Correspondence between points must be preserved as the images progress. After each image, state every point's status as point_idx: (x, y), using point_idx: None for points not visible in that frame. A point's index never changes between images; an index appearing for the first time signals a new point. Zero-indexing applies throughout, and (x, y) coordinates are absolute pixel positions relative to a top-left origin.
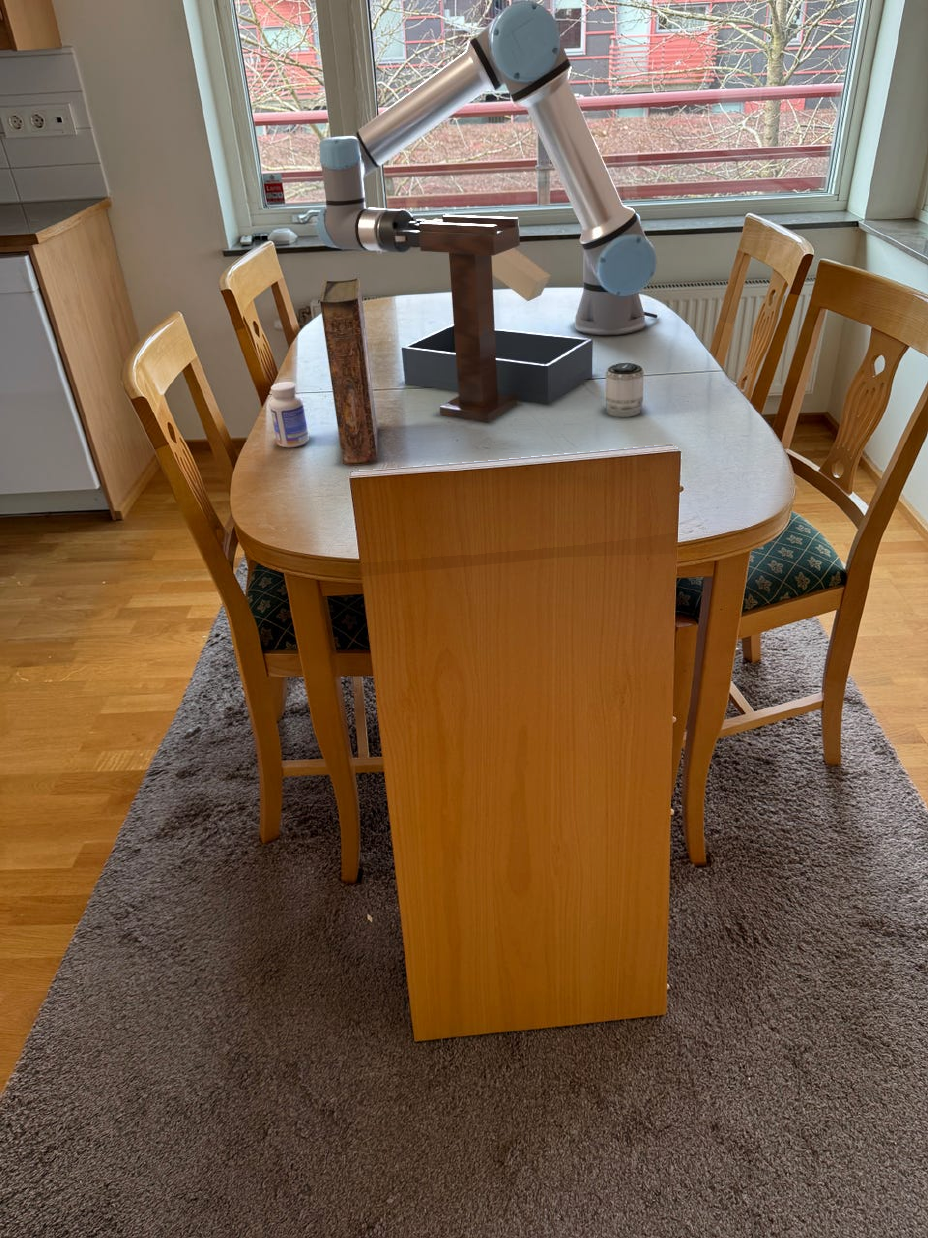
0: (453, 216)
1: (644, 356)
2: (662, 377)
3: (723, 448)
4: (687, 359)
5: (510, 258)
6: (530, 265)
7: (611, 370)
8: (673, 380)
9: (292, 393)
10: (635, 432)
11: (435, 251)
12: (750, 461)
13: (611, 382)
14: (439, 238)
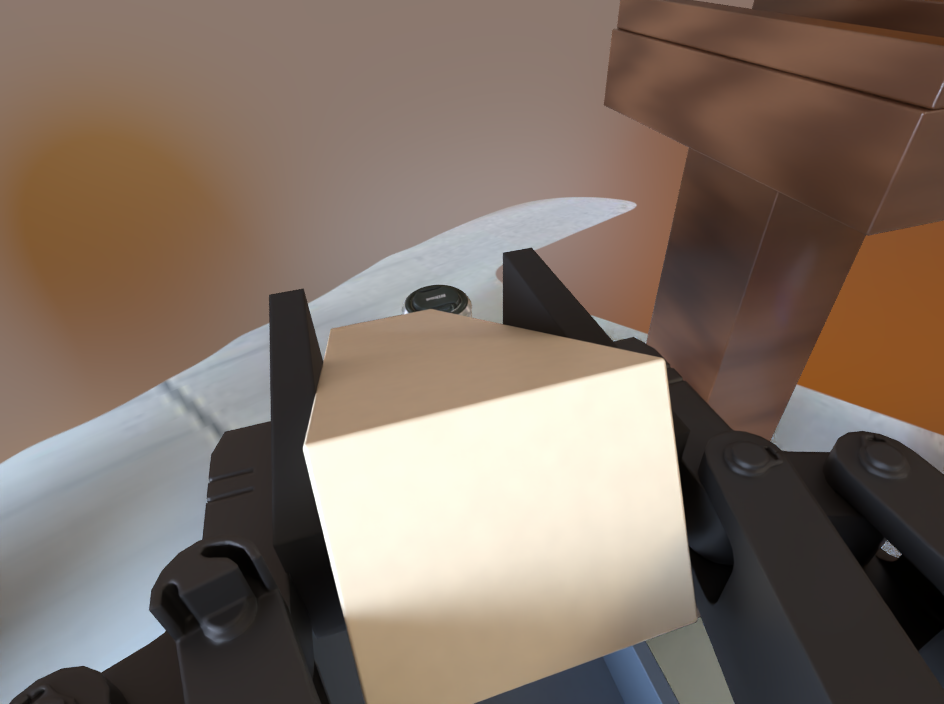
0: (899, 32)
1: (73, 530)
2: (234, 418)
3: (467, 255)
4: (85, 449)
5: (440, 319)
6: (366, 328)
7: (461, 306)
8: (245, 397)
9: None
10: (499, 317)
11: None
12: (478, 234)
13: (471, 316)
14: None
